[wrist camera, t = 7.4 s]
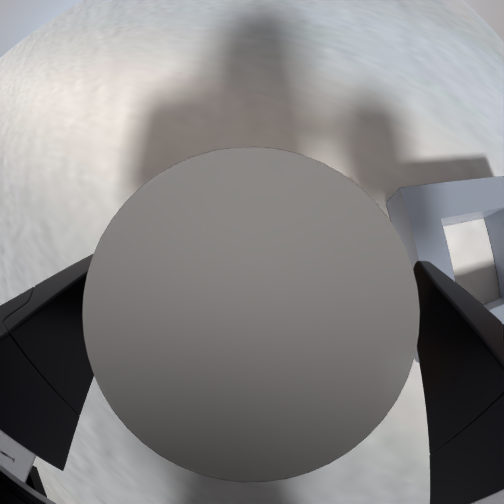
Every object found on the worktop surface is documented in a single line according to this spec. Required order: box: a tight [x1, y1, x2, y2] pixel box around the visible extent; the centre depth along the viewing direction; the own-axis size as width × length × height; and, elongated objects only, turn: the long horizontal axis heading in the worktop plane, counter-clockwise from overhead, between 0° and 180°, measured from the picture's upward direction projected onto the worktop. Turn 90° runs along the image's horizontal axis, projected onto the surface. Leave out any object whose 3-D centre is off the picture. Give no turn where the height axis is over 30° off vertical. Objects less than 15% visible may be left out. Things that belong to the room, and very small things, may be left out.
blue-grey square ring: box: [386, 176, 504, 362], centre depth 15 cm, size 10×10×3 cm
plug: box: [82, 147, 420, 482], centre depth 10 cm, size 5×5×12 cm
